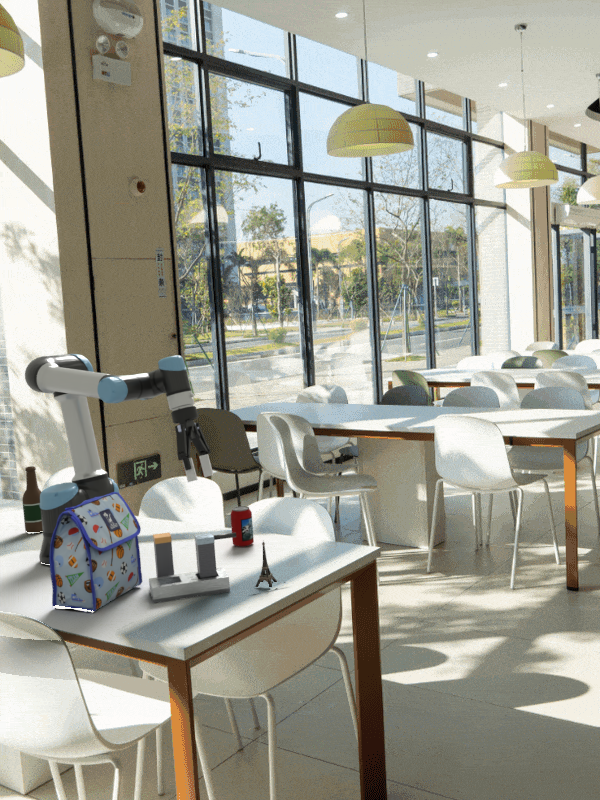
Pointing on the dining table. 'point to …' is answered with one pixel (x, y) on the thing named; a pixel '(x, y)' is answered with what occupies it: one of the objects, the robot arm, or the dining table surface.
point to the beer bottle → (32, 502)
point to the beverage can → (242, 526)
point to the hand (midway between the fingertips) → (201, 478)
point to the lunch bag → (95, 553)
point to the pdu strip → (194, 575)
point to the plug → (163, 554)
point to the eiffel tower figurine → (267, 575)
